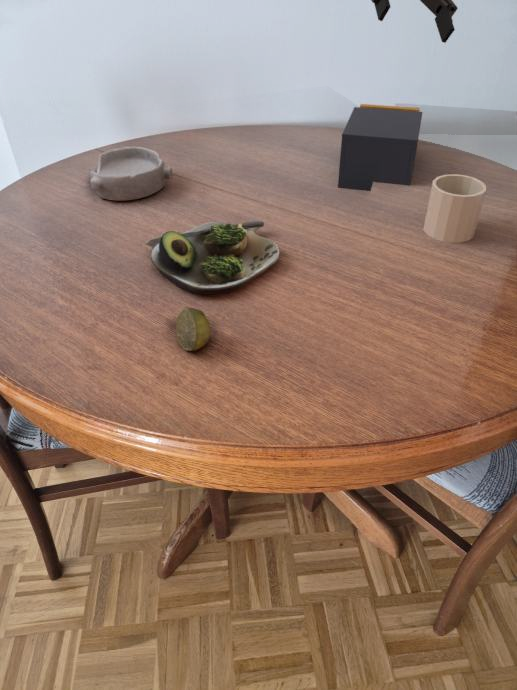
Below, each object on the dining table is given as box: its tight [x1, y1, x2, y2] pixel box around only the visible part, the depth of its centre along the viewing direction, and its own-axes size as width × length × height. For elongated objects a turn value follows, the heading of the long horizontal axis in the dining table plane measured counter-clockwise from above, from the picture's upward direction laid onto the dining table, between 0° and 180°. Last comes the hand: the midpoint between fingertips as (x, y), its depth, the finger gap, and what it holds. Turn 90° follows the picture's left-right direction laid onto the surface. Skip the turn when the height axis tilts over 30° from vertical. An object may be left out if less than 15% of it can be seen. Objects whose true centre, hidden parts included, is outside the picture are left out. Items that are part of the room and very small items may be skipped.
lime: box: [175, 307, 212, 352], centre depth 64 cm, size 4×5×5 cm
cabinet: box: [337, 106, 423, 191], centre depth 99 cm, size 15×13×10 cm
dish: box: [89, 146, 173, 202], centre depth 99 cm, size 14×14×5 cm
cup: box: [423, 173, 487, 244], centre depth 81 cm, size 7×7×9 cm
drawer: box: [359, 103, 421, 112], centre depth 104 cm, size 15×11×8 cm
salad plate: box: [145, 220, 281, 297], centre depth 80 cm, size 19×18×5 cm
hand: (417, 25), depth 96 cm, fingers open, 13 cm apart
